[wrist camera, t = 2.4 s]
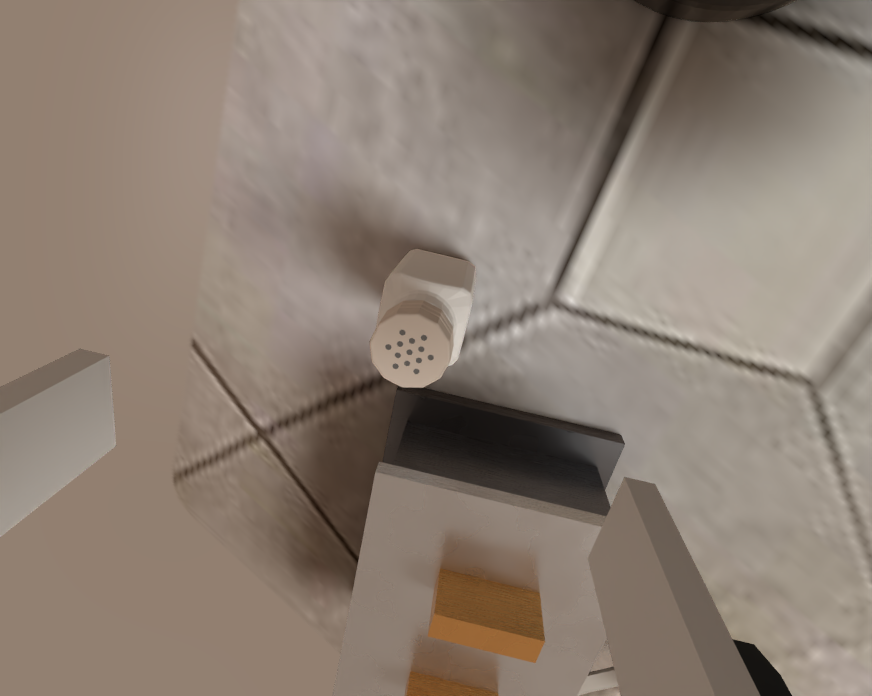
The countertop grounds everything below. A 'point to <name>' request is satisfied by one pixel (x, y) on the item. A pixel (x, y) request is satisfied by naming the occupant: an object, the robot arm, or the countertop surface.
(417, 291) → the pepper shaker
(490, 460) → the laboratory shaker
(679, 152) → the countertop surface
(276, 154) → the countertop surface
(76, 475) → the robot arm
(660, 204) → the countertop surface
